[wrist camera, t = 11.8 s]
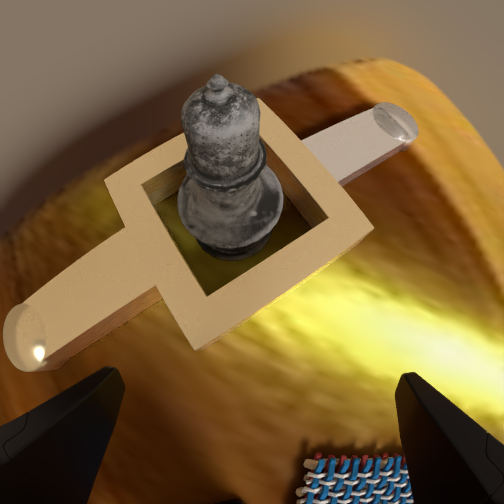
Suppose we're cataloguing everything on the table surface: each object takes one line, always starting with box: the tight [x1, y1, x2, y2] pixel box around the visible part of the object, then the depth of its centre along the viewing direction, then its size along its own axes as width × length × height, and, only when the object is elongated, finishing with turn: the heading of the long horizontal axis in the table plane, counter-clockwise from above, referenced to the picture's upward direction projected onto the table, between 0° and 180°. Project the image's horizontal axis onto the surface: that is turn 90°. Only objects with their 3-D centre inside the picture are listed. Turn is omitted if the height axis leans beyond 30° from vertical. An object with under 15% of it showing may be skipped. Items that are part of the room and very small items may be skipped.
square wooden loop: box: [3, 98, 374, 372], centre depth 17 cm, size 24×12×3 cm, turn 124°
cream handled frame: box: [148, 102, 418, 350], centre depth 20 cm, size 24×12×2 cm, turn 124°
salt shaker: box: [177, 74, 283, 261], centre depth 14 cm, size 6×6×12 cm
